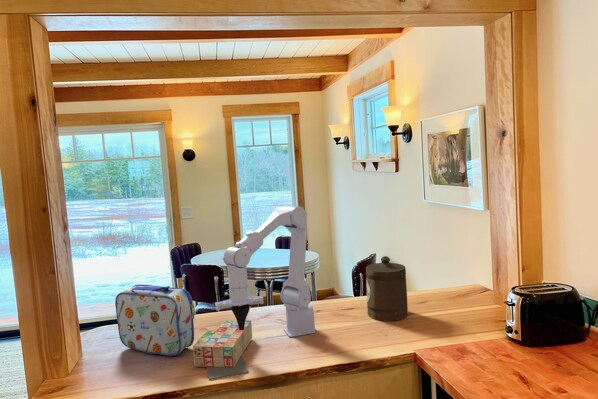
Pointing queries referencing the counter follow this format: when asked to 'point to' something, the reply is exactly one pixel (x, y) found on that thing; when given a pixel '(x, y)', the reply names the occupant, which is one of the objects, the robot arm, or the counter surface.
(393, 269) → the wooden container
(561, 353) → the counter surface
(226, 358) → the stack of blocks
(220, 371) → the mat
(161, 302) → the lunch box
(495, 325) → the counter surface
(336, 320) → the counter surface
